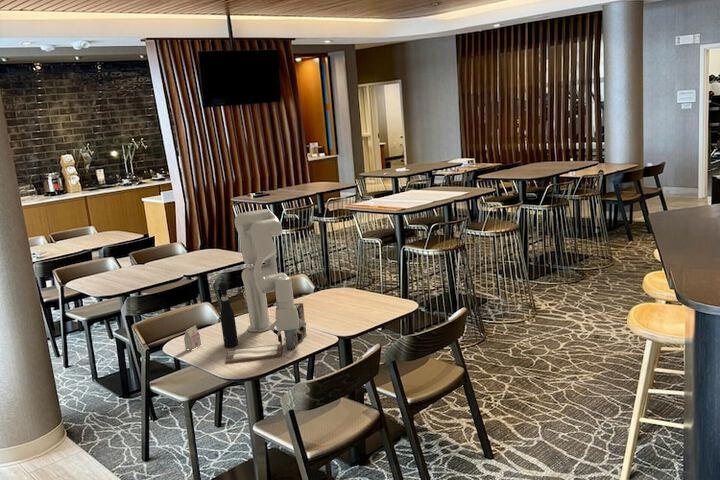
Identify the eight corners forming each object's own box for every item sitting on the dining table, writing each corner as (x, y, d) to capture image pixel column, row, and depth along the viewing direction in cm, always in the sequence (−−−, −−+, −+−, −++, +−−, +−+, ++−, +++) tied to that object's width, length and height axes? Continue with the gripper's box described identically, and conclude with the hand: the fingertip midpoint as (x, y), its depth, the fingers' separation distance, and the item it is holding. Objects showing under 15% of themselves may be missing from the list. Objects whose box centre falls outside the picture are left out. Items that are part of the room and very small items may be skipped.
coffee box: (301, 342, 306) (297, 308, 303) (288, 342, 307) (284, 309, 304) (307, 335, 314) (303, 302, 311) (294, 335, 316) (290, 303, 313)
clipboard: (229, 352, 302) (228, 347, 302) (282, 345, 304) (281, 341, 303) (225, 363, 288) (225, 359, 288) (281, 357, 290) (280, 352, 289)
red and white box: (185, 350, 310) (182, 330, 308) (195, 345, 316) (192, 325, 314) (192, 351, 308) (189, 330, 306) (201, 345, 314) (198, 325, 312)
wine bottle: (240, 343, 312) (232, 281, 306) (234, 348, 306) (225, 285, 300) (228, 343, 314) (220, 281, 308) (221, 348, 308) (213, 285, 302)
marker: (286, 347, 301) (283, 322, 298) (295, 346, 301) (292, 321, 299) (286, 351, 297) (282, 325, 294) (295, 349, 297) (292, 324, 295)
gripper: (265, 309, 291) (270, 347, 294) (305, 304, 292) (309, 342, 295) (266, 304, 298) (271, 341, 301) (305, 299, 299) (309, 337, 302)
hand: (290, 341), depth 298 cm, fingers open, 7 cm apart
